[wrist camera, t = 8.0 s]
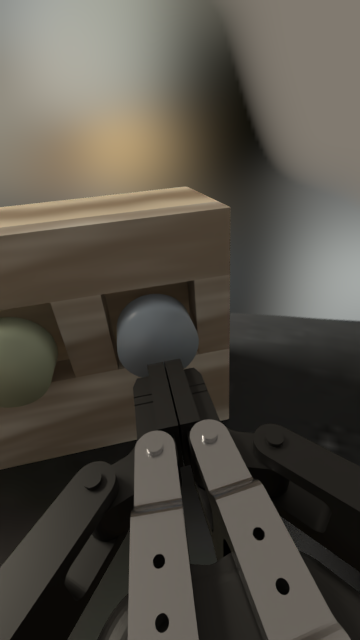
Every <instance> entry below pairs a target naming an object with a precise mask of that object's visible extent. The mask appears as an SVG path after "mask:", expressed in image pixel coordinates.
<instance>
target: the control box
mask: <svg viewBox="0 0 360 640" xmlns="http://www.w3.org/2000/svg"><path fill="white" fill-rule="evenodd" d="M148 294H164V295H168V296H171V297H173V298H175V299H177V300H178V301H179V302H181V303H182V304H183V305H184V307H185V308H186V310H187V312H188V314H189V316H190V318H191V320H192V322H193V324H194V326H195V329H196V331H197V334H198V338H199V345H198V350H197V353H196V355H195V357H194V359H193V360H192V362H191V363H190V364H189V365H188V366H187V367H186V368H185V369H188V368H195V369H196V370H197V371H198V372H199V373H201V375H202V377H203V380H204V382H205V385H206V387H207V390H208V392H209V395H210V397H211V400H212V402H213V405H214V407H215V410H216V412H217V415H218V417H219V419H220V421H222V420H227V419H229V340H230V207H229V206H226V205H224V204H222V203H220V202H218V201H216V200H214V199H212V198H210V197H207V196H205V195H203V194H201V193H199V192H197V191H195V190H193V189H191V188H188V187H177V188H168V189H160V190H150V191H141V192H133V193H124V194H115V195H107V196H97V197H88V198H79V199H70V200H61V201H53V202H44V203H36V204H26V205H17V206H8V207H0V318H3V317H17V318H22V319H26V320H30V321H32V322H34V323H37V324H38V325H40V326H42V327H43V328H44V329H46V330H47V331H48V332H49V333H50V334H51V336H52V337H53V338H54V340H55V342H56V344H57V348H58V358H57V362H56V365H55V369H54V373H53V377H52V381H51V384H50V387H49V389H48V390H47V392H46V393H45V394H44V395H43V396H42V397H41V398H39V399H38V400H36V401H35V402H32V403H30V404H27V405H24V406H20V407H12V408H2V407H0V470H1V469H6V468H10V467H15V466H19V465H24V464H28V463H33V462H37V461H42V460H46V459H51V458H55V457H60V456H64V455H69V454H73V453H78V452H82V451H87V450H92V449H96V448H101V447H105V446H110V445H114V444H119V443H123V442H128V441H132V440H137V430H136V418H135V406H134V395H133V386H134V384H135V382H136V380H137V378H142V377H138V376H136V375H134V374H132V373H130V372H129V371H128V370H127V369H126V368H125V367H124V366H123V365H122V363H121V362H120V360H119V357H118V353H117V321H118V318H119V315H120V313H121V312H122V310H123V309H124V308H125V307H126V305H128V304H129V303H130V302H131V301H133V300H134V299H136V298H138V297H141V296H144V295H148Z"/></svg>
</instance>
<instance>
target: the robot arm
mask: <svg viewBox="0 0 360 640" xmlns="http://www.w3.org/2000/svg"><path fill="white" fill-rule="evenodd" d="M164 365H165V368H164ZM147 368H148V374H149V376H147V377H142V378H137V380H136V382H135V384H134V386H133V395H134V406H135V418H136V430H137V441H136V444H135V446H134V448H133V450H132V451H131V452H130V453H129V454H128V455H127V456H126V457H124V458H123V459H121V460H119V461H118V462H116V463H114V464H112V465H110V464H108V463H106V462H103V461H96V462H92V463H89V464H87V465H86V466H84V467H83V468H81V469H80V470H79V471H78V472H77V474H76V475H75V476H74V477H73V478H72V480H71V481H70V482H69V483H68V485H67V486H66V487H65V488H64V490H63V491H62V492H61V493H60V495H59V496H58V497H57V498H56V499H55V501H54V502H53V503H52V504H51V506H50V507H49V508H48V509H47V511H46V512H45V513H44V514H43V515H42V517H41V518H40V519H39V520H38V522H37V523H36V524H35V525H34V527H33V528H32V529H31V530H30V532H29V533H28V534H27V535H26V536H25V538H24V539H23V540H22V541H21V543H20V544H19V545H18V546H17V548H16V549H15V550H14V551H13V552H12V554H11V555H10V556H9V557H8V559H7V560H6V561H5V562H4V564H3V565H2V566H1V567H0V640H67V639H68V637H69V635H70V634H71V632H72V630H73V628H74V627H75V625H76V623H77V621H78V619H79V618H80V616H81V614H82V612H83V611H84V609H85V607H86V605H87V604H88V602H89V600H90V598H91V596H92V595H93V593H94V591H95V589H96V588H97V586H98V584H99V582H100V581H101V579H102V577H103V575H104V574H105V572H106V570H107V568H108V566H109V565H110V563H111V561H112V559H113V558H114V556H115V554H116V552H117V551H118V549H119V547H120V545H121V543H122V542H123V540H124V538H125V536H126V535H127V533H128V530H129V528H130V554H129V594H127V595H126V596H125V597H124V598H123V600H122V601H121V602H120V603H119V604H118V605H117V607H116V608H115V609H114V611H113V612H112V613H111V615H110V617H109V618H108V620H107V622H106V623H105V625H104V627H103V629H102V631H101V633H100V635H99V637H98V639H97V640H360V593H359V592H357V591H356V590H355V589H353V588H352V587H351V586H350V585H348V584H347V583H346V582H345V581H343V580H342V579H341V578H339V577H338V576H337V575H336V574H334V573H333V572H332V571H331V570H329V569H328V568H327V567H325V566H324V565H323V564H322V563H320V562H319V561H317V560H316V559H314V558H313V557H311V556H309V555H307V554H305V553H303V552H301V551H298V549H297V547H296V546H295V544H294V542H293V540H292V538H291V536H290V534H289V533H288V531H287V529H286V527H285V525H284V523H283V521H282V519H281V518H280V516H281V517H283V518H284V519H286V520H287V521H289V522H290V523H291V524H293V525H294V526H296V527H297V528H298V529H300V530H301V531H303V532H304V533H306V534H307V535H308V536H310V537H311V538H313V539H314V540H315V541H317V542H318V543H320V544H321V545H323V546H324V547H325V548H327V549H328V550H330V551H331V552H332V553H334V554H335V555H337V556H338V557H340V558H341V559H342V560H344V561H345V562H347V563H348V564H350V565H351V566H352V567H354V568H355V569H357V570H358V571H359V572H360V466H358V465H356V464H354V463H352V462H350V461H348V460H347V459H345V458H343V457H341V456H339V455H337V454H335V453H333V452H331V451H329V450H327V449H325V448H323V447H321V446H319V445H317V444H316V443H314V442H312V441H310V440H308V439H306V438H304V437H302V436H300V435H298V434H296V433H294V432H292V431H290V430H288V429H286V428H284V427H282V426H280V425H277V424H264V425H261V426H260V427H258V428H257V429H256V430H255V432H254V433H248V432H237V431H234V430H231V429H229V428H227V427H226V426H225V425H223V424H222V422H221V421H220V419H219V417H218V415H217V412H216V410H215V407H214V405H213V402H212V400H211V397H210V395H209V392H208V390H207V387H206V385H205V382H204V380H203V377H202V375H201V373H199V372H198V371H197V370H196V369H195V368H188V369H184V368H183V365H182V362H181V359H180V358H179V359H174V360H169V361H164V364H163V362H158V363H153V364H148V365H147ZM181 451H182V452H181ZM182 455H183V460H184V464H185V466H186V465H190V464H191V468H192V472H193V476H194V485H195V488H196V491H197V494H198V497H199V500H200V503H201V506H202V509H203V513H204V516H205V519H206V522H207V525H208V528H209V531H210V534H211V537H212V541H213V545H214V550H215V554H216V558H217V562H216V563H214V564H212V565H194V564H190V557H189V550H188V542H187V534H186V526H185V518H184V510H183V502H182V494H181V486H182V481H181V473H180V467H182V466H183V460H182ZM279 515H280V516H279Z"/></svg>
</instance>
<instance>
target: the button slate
mask: <svg viewBox="0 0 360 640" xmlns="http://www.w3.org/2000/svg"><path fill="white" fill-rule="evenodd" d="M198 345H199V338H198V334H197V331H196V329H195V326H194V324H193V322H192V320H191V318H190V316H189V314H188V312H187V310H186V308H185V307H184V305H183V304H182V303H181V302H179V301H178V300H177V299H175V298H173V297H171V296H168V295H164V294H148V295H144V296H141V297H138V298H136V299H134V300H133V301H131V302H130V303H129V304H128V305H126V307H125V308H124V309H123V310H122V312H121V313H120V315H119V318H118V321H117V353H118V357H119V360H120V362H121V363H122V365H123V366H124V367H125V368H126V369H127V370H128V371H129V372H130V373H132V374H134V375H136V376H138V377H147V376H149V374H148V368H147V365H148V364H153V363H158V362H163V364H164V361H169V360H174V359H179V358H180V359H181V362H182V365H183V368H184V369H185V368H186V367H187V366H188V365H189V364H190V363H191V362H192V360H193V359H194V357H195V355H196V353H197V350H198ZM164 368H165V365H164Z"/></svg>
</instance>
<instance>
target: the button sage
mask: <svg viewBox="0 0 360 640" xmlns="http://www.w3.org/2000/svg"><path fill="white" fill-rule="evenodd" d="M57 358H58V348H57V344H56V342H55V340H54V338H53V337H52V336H51V334H50V333H49V332H48V331H47V330H46V329H44V328H43V327H42V326H40V325H38V324H37V323H34V322H32V321H30V320H26V319H22V318H17V317H3V318H0V407H2V408H12V407H20V406H24V405H27V404H30V403H32V402H35V401H36V400H38V399H39V398H41V397H42V396H43V395H44V394H45V393H46V392H47V390H48V389H49V387H50V384H51V381H52V377H53V373H54V369H55V365H56V362H57Z"/></svg>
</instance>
